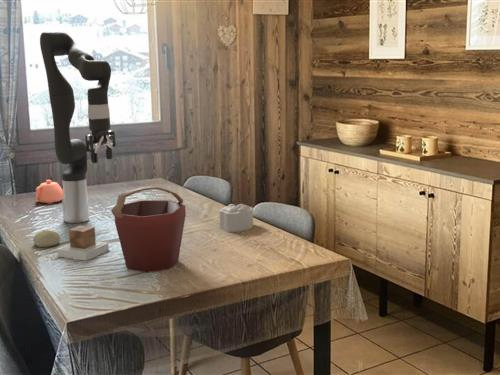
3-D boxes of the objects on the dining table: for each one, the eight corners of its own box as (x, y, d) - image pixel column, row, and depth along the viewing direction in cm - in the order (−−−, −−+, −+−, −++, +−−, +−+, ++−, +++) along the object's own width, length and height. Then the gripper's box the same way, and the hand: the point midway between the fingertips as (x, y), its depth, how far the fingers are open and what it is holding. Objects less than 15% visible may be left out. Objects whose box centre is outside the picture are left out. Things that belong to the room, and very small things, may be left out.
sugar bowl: (69, 200, 285) (68, 179, 283) (45, 207, 273) (43, 184, 271) (52, 197, 291) (50, 176, 289) (27, 203, 280) (25, 182, 277)
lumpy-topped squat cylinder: (216, 227, 237) (216, 205, 236) (244, 221, 244) (244, 200, 242) (230, 233, 229) (230, 210, 227) (259, 227, 236) (258, 205, 234)
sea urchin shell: (35, 245, 212) (31, 225, 215) (34, 256, 218) (31, 237, 221) (62, 241, 216) (58, 222, 219) (61, 252, 222) (56, 233, 225)
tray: (57, 256, 205) (57, 248, 205) (81, 245, 216) (80, 238, 216) (86, 260, 201) (85, 252, 200) (108, 249, 211) (108, 242, 211)
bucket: (119, 280, 183) (114, 199, 177) (105, 258, 203) (100, 184, 197) (197, 267, 192) (194, 190, 187) (176, 248, 212) (173, 177, 207)
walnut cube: (70, 246, 206) (68, 229, 205) (81, 241, 212) (80, 225, 210) (84, 248, 204) (83, 231, 203) (95, 243, 209) (94, 227, 208)
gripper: (102, 114, 228) (105, 157, 231) (77, 118, 215) (81, 163, 219) (119, 115, 225) (122, 158, 228) (94, 119, 212) (98, 164, 216)
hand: (102, 161), depth 223 cm, fingers open, 8 cm apart
